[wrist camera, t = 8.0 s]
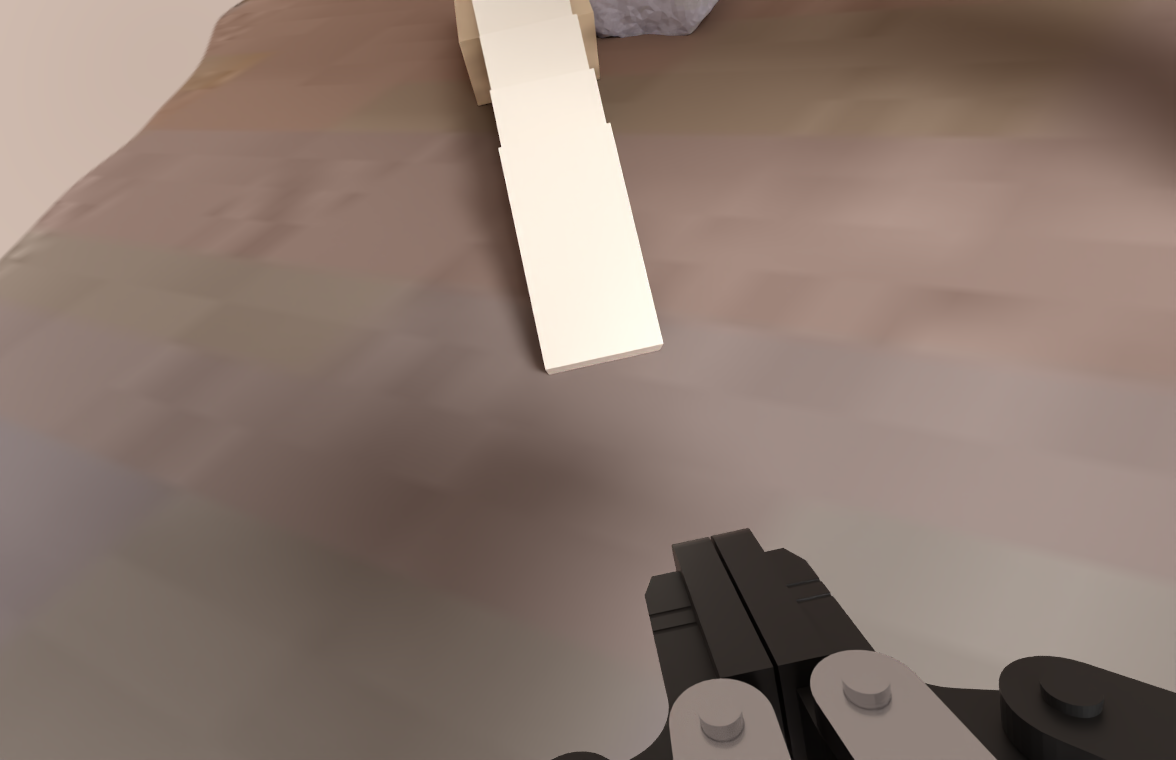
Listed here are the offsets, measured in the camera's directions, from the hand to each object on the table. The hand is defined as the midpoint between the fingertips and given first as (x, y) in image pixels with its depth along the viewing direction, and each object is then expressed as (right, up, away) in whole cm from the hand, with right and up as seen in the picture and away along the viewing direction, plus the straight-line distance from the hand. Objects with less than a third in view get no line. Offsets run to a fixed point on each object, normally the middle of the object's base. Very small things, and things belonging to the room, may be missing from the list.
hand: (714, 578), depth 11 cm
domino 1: (-2, +5, +13) cm, 14 cm away
